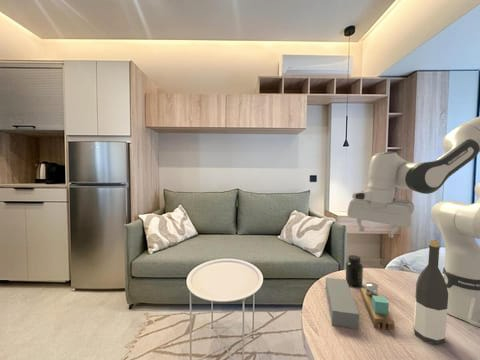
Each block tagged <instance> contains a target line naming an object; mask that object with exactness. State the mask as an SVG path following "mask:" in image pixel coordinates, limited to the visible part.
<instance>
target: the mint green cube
mask: <svg viewBox="0 0 480 360" xmlns="http://www.w3.org/2000/svg"><path fill="white" fill-rule="evenodd" d="M389 305H390V304H389V301H388V300H387V298H386V296H374V295H372V308H373V310H374V312H375V313H379V314H386V315H388V311H389V309H390V308H389Z"/></svg>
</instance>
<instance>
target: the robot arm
mask: <svg viewBox="0 0 480 360" xmlns="http://www.w3.org/2000/svg"><path fill="white" fill-rule="evenodd" d="M441 143H442V145H441V146H442V148H443V150H444V154H442V155H441V156H440V157H438V158H437V159H435V160H433V161H425V162H410V161H407V160H406V159H404V158H402V157H401V156H400V155H398V153H397V152H396V151H385V152H384V151H382V152H377V153H375V154H373V155H372V156H371V159H370V163H369V167H368V174H367V176H368V183H367V186H366V190H361V191H357V192H353V193H352V200H350V202H349V204H348V208H347V216H348V218H350V219H356V223H357V225H358V229H359V230H358V231H359V232H361V233H362V232H363V233H364V232H365V230H366V229H365V228H366V227H365V226H364V225H363V224H362V221H366V222H372V223H373V222H374V223H379V224H383V225H384V224H385V225H390V226H392V229H393V230H392V231H388V235H387V238H390V239H391V238H392V239H393V238H394V235H395V232H397V231H398V229H399V227H401V228H409V227H411V226H412V225H411V224H412V214H413V212H414V209H415V208H414V207H415V205H414V203H413V202H412V201H410V200H408V199H400V198H395V194H396V193H395V192H396V188H397V189H403V190H407V191H413V192H417V193H419V194H423V195H424V194H427V195H428V194H433V193H435V192H436V191H438V190H439V189H441V187H442V186H444V184H445V183H446V181H447V180H448V179H449V178H450V177H451V176H452V175H453V174H455V173H457V171H459V170H460V169H462V168H464V167H465V166H466V165H468V164H469V163H470V162H471V161H473V160H474V159H475V158H476V157H477V156H478V155H479V153H480V116H477V117H474V118H473V119H470V120H469V121H468V120H467V121H466V122H464V123H462V124H460V125H459V126H457V127H456V128H453V129H452V130H450V131H449V132H448V133H447V134H445V136H443V139H442V142H441ZM474 193H475V196H476V198H477V200H476V201H475V202H474V203H467V202H460V201H454V200H453V201H451V200H445V201H440V202H437V203H435V204H434V205H433V207H432V208H431V211H430V218H431V220H432V222H434V224H435V225H436V227H437V228H438V230H439V232H440V234H441V237H442V241H443V244H444V250H445V252H444V255H445V256H444V267H443V268H442V276H443V278H444V280H445V283H446V286H447V290H448V306H447V315H450V316H452V317H453V318H457V319H460V320H463V321H465V322H467V323H469V324H471V325H473V326H475V327H479V328H480V245H479V244H478V242H477V240H476V239H478V240H480V181H479V182H478V183H477V184H476V185H474Z"/></svg>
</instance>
